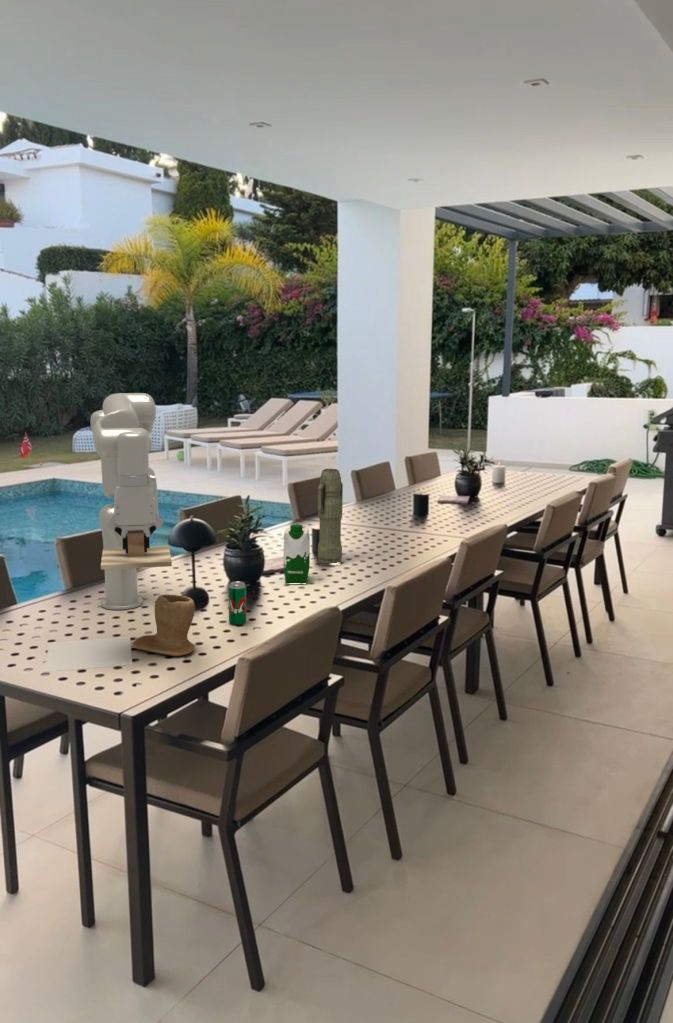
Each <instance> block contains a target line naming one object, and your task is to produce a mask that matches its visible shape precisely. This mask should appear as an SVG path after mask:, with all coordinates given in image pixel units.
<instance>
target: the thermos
mask: <svg viewBox="0 0 673 1023" xmlns="http://www.w3.org/2000/svg"><path fill="white" fill-rule="evenodd" d="M319 478H320V479H319V484H318V487H317V513H318V514H317V516H318V519H319V529H318V531H319V532H318V533H319V540H318V545H317V557H318V558H317V559H318V560H317V562H318V561H319V562H322V563H337V562H341V563H342V558H343V546H342V542H341V540H342V539H341V536H342V528H341V526H342V518H343V495H344V494H343V492H344V491H343V488H344V486H343V485H344V484H343V482H342V477H341V473H340V470H338V469H336V468H324V469H323V470H322V471H321V473H320V477H319Z"/></svg>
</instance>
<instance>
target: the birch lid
mask: <svg viewBox="0 0 673 1023" xmlns="http://www.w3.org/2000/svg"><path fill="white" fill-rule="evenodd" d="M127 536H128V553H126V549H124V550H123V548H104V547H103V548H102V553H101V562H100V570H102V571H103V570H104V571H105V569H125V568H137V569H140V568H141V569H142V568H143V569H144V568H163V567H165V568H167V567H172V566H173V565H172V563H173V561H172V556H171V551H170V546H169V545H155V546H152V545H151V546H150V548H147V552H146V553H145V552H144V530H130V531H127Z"/></svg>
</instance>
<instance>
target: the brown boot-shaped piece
mask: <svg viewBox="0 0 673 1023" xmlns="http://www.w3.org/2000/svg"><path fill="white" fill-rule="evenodd" d="M195 603H196V602H194V599H192V598H191V597H189V596H184V595H180V594H170V593H167V594H166V593H165V594H160V595H158V597H157V598H156V599H155V603H154V619H155V624H156V633H155V634H151V635H150V634H146V635H142V636H140V637H138V638H136V639H135V640H134V641H133V642H132V644H131V648H134V649H138V650H141V651H146V652H150V653H154V654H159V655H160V654H161V655H165V656H173V657H181V656H185V655H189V654H190V653H191V652H193V651H194V650H195V648H196V645H195V644H194V643H193V642H191V641H189V639H188V634H189V630H190V628H191V625H192V623H193V620H194V616H195V611H196V604H195Z"/></svg>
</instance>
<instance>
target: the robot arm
mask: <svg viewBox="0 0 673 1023" xmlns="http://www.w3.org/2000/svg"><path fill="white" fill-rule="evenodd" d="M156 412H157V410H156V403H155V400H154V399H153V397H152V396H151V395H150V394H148V393H144V392H127V393H126V392H118V393H112V394H109V395H108V396H107V397H106V398H105V399H104V400H103V403H102V409H100V410H96V411H94V412H93V413H92V414H91V416H90V429H91V432H92V441H93V445H94V449H95V452H96V454H97V455H98V456H99V457H100V465H101V466H100V467H101V479H102V491H103V493H104V496H106V497H107V498H108V499H114V501H113V502H114V503H110V504H106V505H103V507H101V509H100V510H99V514H98V516H99V517H98V519H99V526H100V530H101V536H102V544H103V546H102V547H103V549H104V548H123V550H124V549H126V553H128V536H127V531H130V530H144V552H145V553H146V552H147V548H150V547H151V546H150V544H151V543H150V537H151V535H152V534H153V533H155V532H156V531H157V530H158V529H159V528H160V527H162V526H163V525H164V522H163V520H162V518H161V517H160V516H159V500H158V485H157V477H156V474H155V471H154V470H153V468H151V467H149V453H150V451H151V450H152V442H153V440H152V435H151V433H152V429H153V427H154V423H155V420H156V417H157V416H156V414H157V413H156ZM137 569H138V568H125V569H104V582H105V583H104V585H105V586H104V589H105V598H103V599H101V601H100V606H101V607H102V608H104V609H107V610H114V611H116V610H117V611H118V610H119V611H121V610H122V611H123V610H130V609H135V608H138V607H140V606H142V605H143V604H144V600H143V598H142V597H141V596H139V595H138V576H137V575H138V572H137Z"/></svg>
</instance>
